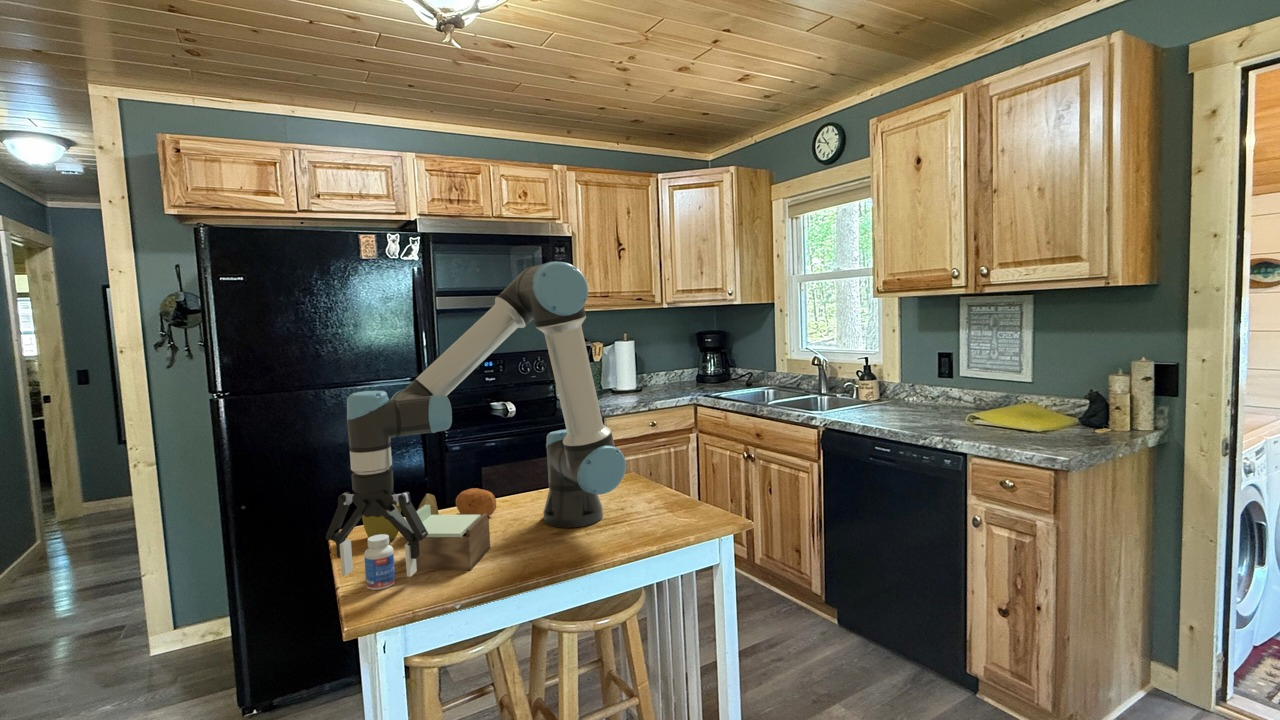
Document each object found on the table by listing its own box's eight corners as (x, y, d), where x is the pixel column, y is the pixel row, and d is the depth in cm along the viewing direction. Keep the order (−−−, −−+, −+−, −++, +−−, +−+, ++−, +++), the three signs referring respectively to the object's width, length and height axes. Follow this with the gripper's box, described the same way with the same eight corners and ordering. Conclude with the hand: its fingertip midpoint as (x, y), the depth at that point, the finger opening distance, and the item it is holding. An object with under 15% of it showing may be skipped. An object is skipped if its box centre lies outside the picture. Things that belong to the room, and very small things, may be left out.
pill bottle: (377, 593, 123) (373, 544, 122) (360, 587, 126) (356, 540, 125) (401, 582, 127) (397, 535, 126) (384, 576, 130) (381, 531, 129)
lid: (480, 518, 143) (479, 503, 143) (460, 537, 131) (459, 521, 131) (427, 518, 144) (426, 504, 144) (402, 537, 133) (401, 522, 132)
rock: (451, 531, 149) (453, 513, 158) (425, 507, 146) (429, 490, 156) (415, 561, 148) (419, 540, 158) (388, 537, 146) (395, 518, 155)
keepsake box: (490, 548, 144) (488, 512, 143) (471, 570, 132) (468, 531, 131) (431, 548, 145) (429, 512, 144) (407, 569, 133) (404, 531, 132)
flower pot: (363, 548, 147) (360, 510, 146) (363, 536, 155) (360, 500, 154) (403, 541, 150) (400, 504, 150) (401, 529, 158) (399, 494, 158)
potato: (468, 525, 159) (466, 496, 159) (449, 515, 168) (447, 488, 167) (500, 516, 165) (499, 488, 165) (481, 507, 174) (479, 480, 173)
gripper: (440, 464, 127) (446, 566, 129) (324, 465, 129) (332, 565, 131) (423, 474, 119) (430, 582, 121) (300, 475, 122) (309, 580, 124)
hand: (379, 573), depth 126 cm, fingers open, 13 cm apart
